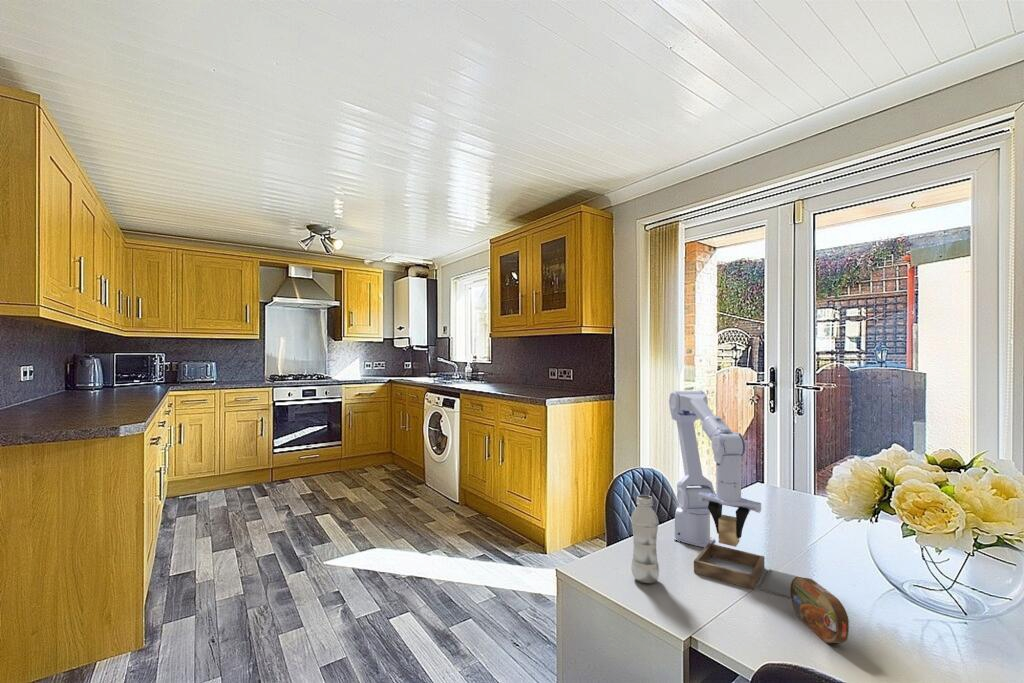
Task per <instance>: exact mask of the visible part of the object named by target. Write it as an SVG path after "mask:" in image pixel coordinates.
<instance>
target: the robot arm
mask: <svg viewBox="0 0 1024 683" xmlns="http://www.w3.org/2000/svg"><path fill="white" fill-rule="evenodd" d="M708 404H709V402H708V395H707V394H706V392H705V391H704V390H702V389H701V390H672V391H671V393H670V395H669V399H668V405H669V406H668V407H669V411H670V415H671V419H672V420H674V421H676V426H677V432H678V439H679V446H680V452H681V458H682V464H683V471H684V476H683V477H682V478H681V479H680V480H679V481H678V482H677V483H676V499H677V503H678V506H677V508H676V510H675V513H674V538H673V540H674V541H676V540H677V542H680V541H681V543H684V544H687V545H688V544H689V545H693V546H696V547H701V548H703V549H704V548H705V547H706V546H707V545H708V543H710V544H713V543H714V541H715V537H711V516H712V520H713V521H714V526H715V529H716V534H718V535H719V522H718V519H719V518H720V517H721V516H722V515H723V513H722V512H723V506H727V507H730V508H737V509H736V510H735V517H736V519H737V538H739V539H741V538H742V533H743V528H744V525H745V522H746V520H747V518H748V515H749V514H750V512H751V511H753V512H755V513H761V512H762V502H759V501H755V500H750V499H747V498H743V497H742V459H741V458H742V457H743V456H744V455H745V453H746V451H747V449H746V448H747V446H746V445H747V444H746V441H745V437H744V436H743V435H742V433H741V432H736V431H732V429H731V428H730V427H729V425H727V424H726V422H725V421H724V419H723V418H722V417H721V416H719V415H715V414H714V413H713V412H712V410H711V408H710V406H709V405H708ZM697 420H700V421H701V422H702V425H701V428H702V431H703V432H704V433H705V434H706V436H707V437H708V439H709V440H710V442H711V450H712V453H713V459H714V462H715V464H716V465H715V467H716V471H715V473H716V477H715V478H716V491H715V489H714V486H713V483H712V481H711V480H709V478H707V477H705V476H704V475H703V470H702V464H701V460H700V459H701V458H700V453H699V446H698V440H697V434H696V429H695V428H696V427H695V422H696V421H697Z"/></svg>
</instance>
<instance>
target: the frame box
mask: <svg viewBox="0 0 1024 683" xmlns="http://www.w3.org/2000/svg"><path fill="white" fill-rule="evenodd" d="M710 556H711V557H713V556H714V558H718V559H721V560H726V561H730V562H733V563H737V564H742V565H744V566H745V565H746V566H750V567H752V568H753V569H752V572H751V573H747V572H743V571H740V570H736V569H732V568H728V567H725V566H720V565H716V564H714V563H710V562H708V561H709V559H710V558H711V557H710ZM707 560H708V561H707ZM765 564H766V563H765V556H764V555H759V554H755V553H752V552H748V551H747V552H746V551H744V550H738V549H736V548H735V549H734V548H731V547H727V546H723V545H722V546H721V545H718V544H714V543H711V544H710V543H708V545H707V546H706V547H705V548H704V547H703V549H702V550H701V552H700V553H699V554H698V555H697V557H695V559H693V573H694V572H695V573H694V574H697V573H698V574H697V575H700V574H702V576H705V577H707V576H708V578H711V579H715V580H718V581H721V582H725V583H728V584H732V585H736V586H739V587H744V588H747V589H751V590H753V591H755V589H756V587H757V585H758V583H759V580H760V578H761V577H762V574H763V572H764V571H765Z"/></svg>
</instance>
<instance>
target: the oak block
mask: <svg viewBox="0 0 1024 683" xmlns="http://www.w3.org/2000/svg"><path fill="white" fill-rule="evenodd" d="M718 522H719V534H718V543H719V544H722V545H725V546H726V545H727V546H730V547H734V548H735V547H738V545H739V543H740V538H737V519H736V516H731V515H727V514H722V516H721V517H720V518H719V519H718Z"/></svg>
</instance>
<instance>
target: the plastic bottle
mask: <svg viewBox="0 0 1024 683" xmlns="http://www.w3.org/2000/svg"><path fill="white" fill-rule="evenodd" d="M635 502H636V503H635V505H637V506H636V507H635V508H634V510H633V511H632V513H631V516H630V522H631V528H632V535H633V536H632V538H633V549H632V551H633V553H632V560H631V565H630V566H631V568H630V569H631V574H632V576H633V578H634V579H635V580H636V581H638V582H640V583H643V584H654V583H656V582H657V580H659V577H660V566H659V565H660V564H659V562H658V553H657V540H658V539H657V536H658V528H659V517H658V515H657V512H656V511H655V510H654V509H653V506H654V503H653V497H652V496H651V495H647V494H639V495H637V496H636V501H635Z"/></svg>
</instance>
